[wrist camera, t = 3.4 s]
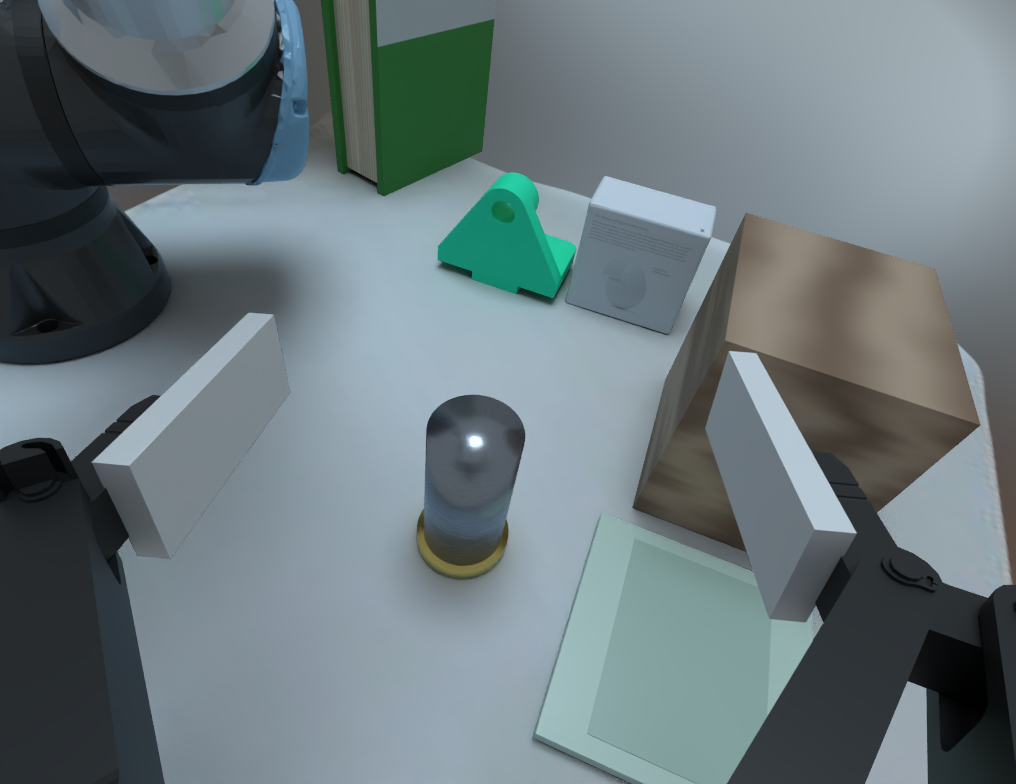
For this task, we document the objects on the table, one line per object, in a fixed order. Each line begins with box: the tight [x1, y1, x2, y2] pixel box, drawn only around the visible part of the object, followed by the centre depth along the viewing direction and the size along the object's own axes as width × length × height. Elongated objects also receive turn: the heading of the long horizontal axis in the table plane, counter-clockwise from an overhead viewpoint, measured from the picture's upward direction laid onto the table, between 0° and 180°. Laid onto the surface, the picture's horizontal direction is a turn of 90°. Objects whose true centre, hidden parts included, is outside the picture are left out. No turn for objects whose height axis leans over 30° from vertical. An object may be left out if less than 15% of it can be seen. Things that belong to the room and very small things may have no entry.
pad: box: [533, 513, 813, 784], centre depth 33 cm, size 14×14×1 cm
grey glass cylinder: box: [417, 395, 525, 579], centre depth 33 cm, size 6×6×11 cm
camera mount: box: [438, 173, 576, 298], centre depth 54 cm, size 12×8×10 cm, turn 69°
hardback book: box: [321, 0, 496, 196], centre depth 61 cm, size 18×7×24 cm, turn 143°
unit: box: [633, 213, 980, 552], centre depth 38 cm, size 12×14×16 cm
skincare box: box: [565, 176, 716, 334], centre depth 52 cm, size 10×6×10 cm, turn 70°
